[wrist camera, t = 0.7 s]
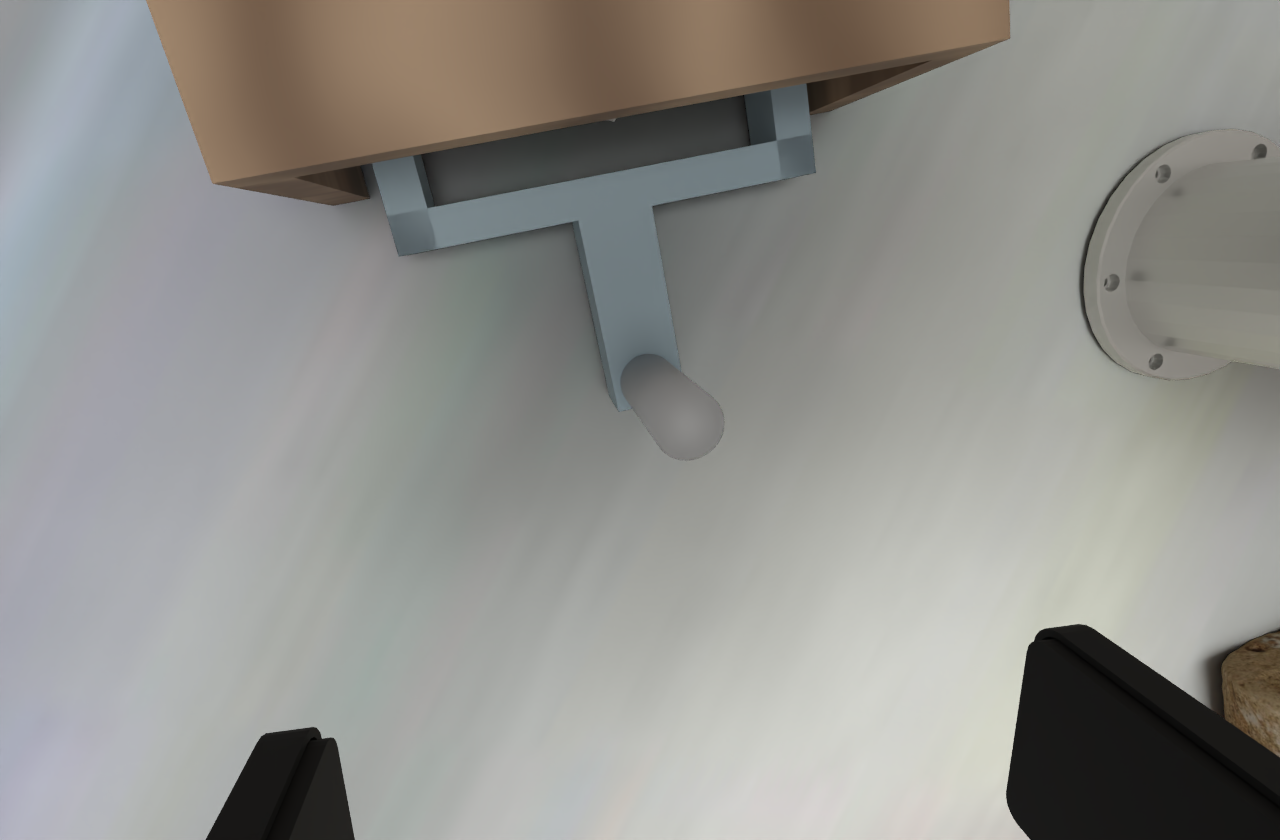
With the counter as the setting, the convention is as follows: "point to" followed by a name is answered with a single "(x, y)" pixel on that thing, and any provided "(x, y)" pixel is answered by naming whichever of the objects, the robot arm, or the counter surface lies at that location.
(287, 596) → the counter surface
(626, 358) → the sliding frame
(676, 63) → the small wooden table
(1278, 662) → the core sample
